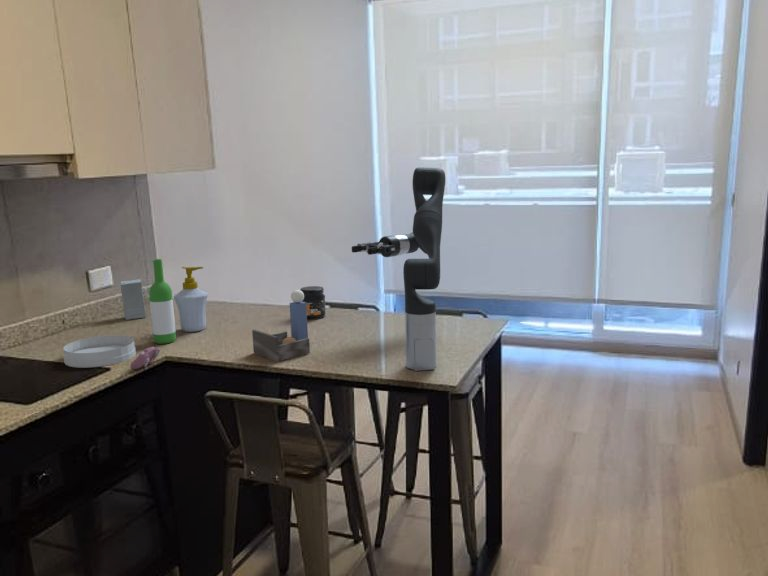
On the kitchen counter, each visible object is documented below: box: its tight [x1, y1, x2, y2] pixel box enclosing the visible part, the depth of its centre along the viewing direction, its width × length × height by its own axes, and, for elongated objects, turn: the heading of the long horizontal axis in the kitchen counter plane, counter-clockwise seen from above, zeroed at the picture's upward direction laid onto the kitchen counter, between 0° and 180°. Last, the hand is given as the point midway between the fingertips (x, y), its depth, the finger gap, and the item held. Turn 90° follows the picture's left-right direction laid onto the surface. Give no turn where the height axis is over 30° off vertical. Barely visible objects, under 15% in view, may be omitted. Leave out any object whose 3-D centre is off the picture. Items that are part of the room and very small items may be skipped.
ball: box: [282, 336, 296, 344], centre depth 215 cm, size 5×5×5 cm
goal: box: [251, 329, 311, 363], centre depth 213 cm, size 13×14×8 cm
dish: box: [62, 334, 137, 369], centre depth 214 cm, size 22×22×5 cm
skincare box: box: [119, 279, 147, 321], centre depth 269 cm, size 8×7×16 cm
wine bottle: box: [148, 258, 177, 345], centre depth 229 cm, size 8×8×30 cm
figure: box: [289, 289, 309, 341], centre depth 217 cm, size 4×4×20 cm
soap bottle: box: [173, 266, 209, 333], centre depth 246 cm, size 13×13×25 cm
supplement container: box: [299, 285, 327, 320], centre depth 263 cm, size 10×10×12 cm
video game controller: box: [130, 346, 161, 370], centre depth 204 cm, size 10×5×7 cm, turn 170°
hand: (360, 250), depth 222 cm, fingers open, 8 cm apart
